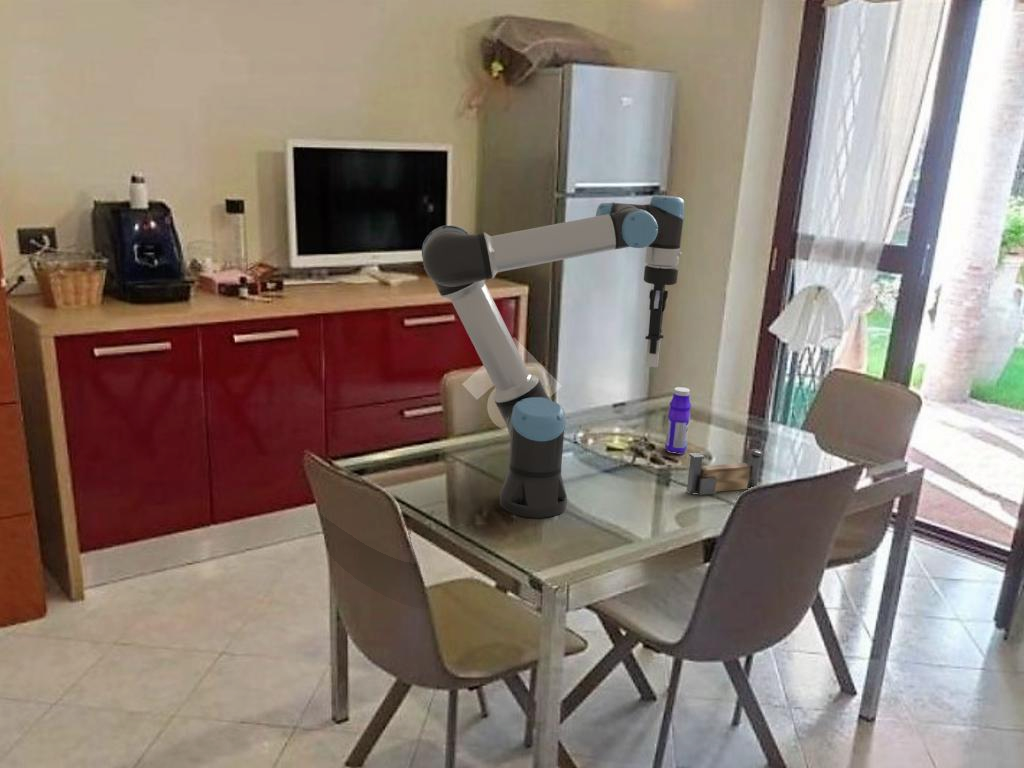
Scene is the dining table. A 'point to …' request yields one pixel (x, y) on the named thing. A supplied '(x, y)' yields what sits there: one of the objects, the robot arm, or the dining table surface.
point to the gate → (728, 475)
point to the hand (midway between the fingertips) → (651, 365)
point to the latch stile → (695, 481)
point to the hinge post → (754, 467)
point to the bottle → (678, 421)
